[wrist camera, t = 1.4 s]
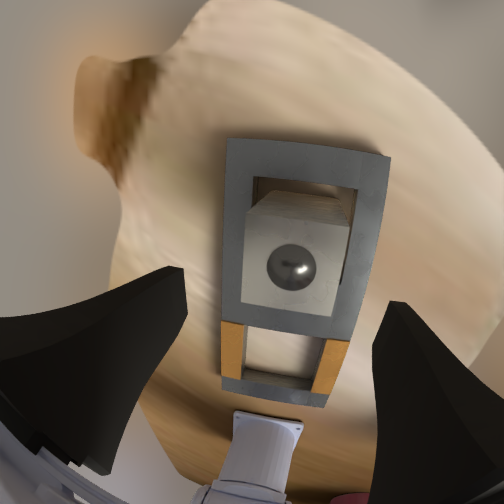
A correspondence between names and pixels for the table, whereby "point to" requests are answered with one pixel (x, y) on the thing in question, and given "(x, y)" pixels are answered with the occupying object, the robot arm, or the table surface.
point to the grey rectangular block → (294, 252)
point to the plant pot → (351, 499)
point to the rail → (352, 275)
